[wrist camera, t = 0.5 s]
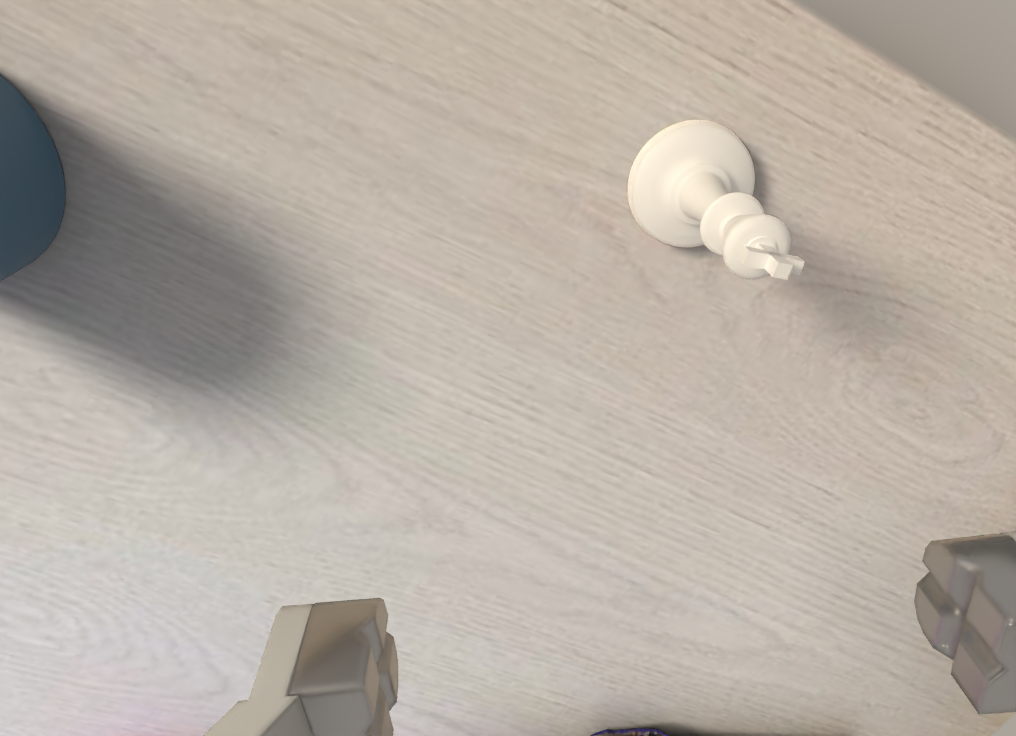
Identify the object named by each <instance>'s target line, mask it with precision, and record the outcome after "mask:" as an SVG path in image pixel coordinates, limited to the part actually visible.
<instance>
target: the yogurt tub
mask: <svg viewBox="0 0 1016 736" xmlns="http://www.w3.org/2000/svg"><path fill="white" fill-rule="evenodd" d="M64 205H65V183H64V176H63V170H62V166H61V163H60V159H59V156H58V153H57V151H56V148H55V146H54V143H53V141H52V139H51V137H50V135H49V133H48V131H47V129H46V127H45V126H44V124H43V122H42V121H41V120H40V118H39V117H38V115H37V114H36V112H35V111H34V109H33V108H32V107H31V106H30V104H29V103H28V102H27V101H26V100H25V98H24V97H23V96H22V95H21V94H20V93H19V92H18V91H17V90H16V89H15V88H14V87H13V86H12V85H11V84H10V83H9V82H8V81H7V80H6V79H4V78H3V77H2V76H1V75H0V281H2V280H3V279H5V278H6V277H8V276H10V275H11V274H13V273H15V272H16V271H18V270H19V269H21V268H23V267H24V266H26V265H27V264H29V263H31V262H32V261H34V260H35V259H36V258H37V257H39V256H40V255H41V254H42V253H43V252H44V251H45V250H46V249H47V247H48V246H49V245H50V243H51V242H52V241H53V239H54V237H55V235H56V233H57V231H58V229H59V227H60V223H61V220H62V217H63V212H64Z"/></svg>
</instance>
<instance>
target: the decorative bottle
mask: <svg viewBox="0 0 1016 736" xmlns="http://www.w3.org/2000/svg"><path fill="white" fill-rule="evenodd" d="M651 732H652V733H653V734H654V735H660V736H668V735H667V734H665V733H663V732H661V731H659V730H657V729H630V730H616V731H612V730H604V731H601V732H597V733H595V734H593V735H591V736H648V734H649V733H651Z"/></svg>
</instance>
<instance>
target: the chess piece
mask: <svg viewBox="0 0 1016 736" xmlns="http://www.w3.org/2000/svg"><path fill="white" fill-rule="evenodd" d="M754 185H755V172H754V166H753V162H752V159H751V156H750V154H749V152H748V150H747V148H746V147H745V146H744V144H743V143H742V141H741V140H740V139H739V138H738V136H737V135H736V134H734V133H733V132H732V131H731V130H729V129H728V128H726V127H725V126H723V125H721V124H718V123H715V122H712V121H707V120H688V121H683V122H679V123H676V124H673V125H671V126H669V127H667V128H665V129H663V130H662V131H660V132H659V133H657V134H656V135H655V136H653V137H652V138H651V139H650V140H649V141H648V142H647V143H646V144H645V145H644V147H643V148H642V149H641V151H640V152H639V154H638V155H637V157H636V159H635V161H634V163H633V165H632V168H631V171H630V175H629V179H628V201H629V205H630V208H631V211H632V214H633V216H634V218H635V219H636V221H637V222H638V224H639V225H640V226H641V227H642V229H643V230H644V231H646V232H647V233H648V234H649V235H651V236H652V237H654V238H655V239H657V240H659V241H661V242H663V243H665V244H668V245H671V246H676V247H696V246H701V245H705V246H706V247H707V248H708V249H709V250H710V251H712V252H714V253H716V254H718V255H722V256H723V258H724V261H725V263H726V265H727V267H728V268H729V270H730V271H731V272H732V273H734V274H735V275H737V276H739V277H741V278H744V279H760V278H763V277H766V276H768V275H771V276H772V277H775V278H780V279H785V280H787V279H788V276H789V274H791V275H796V276H799V275H800V273H801V271H802V268H803V266H804V263H805V261H804V260H802V259H801V258H800V257H797V256H793V255H788V254H789V251H790V246H791V238H790V233H789V231H788V229H787V227H786V226H785V224H784V223H783V222H782V221H781V220H779V219H778V218H776V217H774V216H771V215H767V214H764V210H763V208H762V206H761V204H760V203H759V201H758V200H757V199H755V198H754V197H753V196H752V195H753V191H754Z"/></svg>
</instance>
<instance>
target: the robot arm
mask: <svg viewBox="0 0 1016 736" xmlns="http://www.w3.org/2000/svg"><path fill="white" fill-rule="evenodd" d="M922 562H923V563H924V564H925V566H926V567H927V568H928V570H929V571H930V572H929V573H928V574H927V575H926V576H925V577H924V578H923V579H921V580H920V581H919V582H918V583H917V588H916V594H915V599H914V602H915V608H916V613H917V619H918V621H919V624H920V626H921V628H922V631H923V633H924V635H925V636H926V638H927V639H928V641H929V642H930V644H931V645H932V647H933V648H934V649H936V650H937V651H939V652H941V653H942V654H944V655H946V656H947V657H949V658H951V659H952V660H953V663H952V670H951V675H952V676H953V678H954V679H955V680H956V682H957V683H958V685H959V686H960V688H961V689H962V691H963V692H964V693H965V695H966V696H967V698H968V699H969V701H970V702H971V704H972V705H973V706H974V708H975V709H976V711H977V712H978V714H990V713H1004V712H1016V531H1014V532H1006V533H1000V534H988V535H980V536H971V537H962V538H953V539H944V540H935V541H931V542H930V543H929V545H928V546H927V547H926V548H925V552H924V556H923V560H922ZM387 621H388V613H387V610H386V606H385V603H384V600H383V599H381V598H373V599H360V600H347V601H334V602H321V603H315V604H305V605H291V606H282V608H281V609H280V610H279V611H278V613H277V614H276V616H275V619H274V622H273V625H272V628H271V632H270V635H269V638H268V641H267V644H266V647H265V650H264V654H263V657H262V660H261V663H260V666H259V669H258V672H257V675H256V679H255V682H254V685H253V688H252V691H251V694H250V697H249V700H244V701H238V702H237V703H236V704H235V705H234V706H233V707H232V708H231V709H230V710H229V711H228V712H227V713H226V714H225V715H224V716H223V717H222V718H221V719H220V720H219V721H218V722H217V723H216V724H215V725H214V726H213V727H212V728H211V729H210V730H209V731H208V732H207V733H206V734H205V735H204V736H393V726H392V722H391V718H390V714H389V711H390V709H391V708H392V707H393V706H394V705H395V703H396V702H397V692H398V659H397V651H396V646H395V642H394V637H393V636H391V635H390V634H389V633H387V632H386V629H387Z"/></svg>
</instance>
